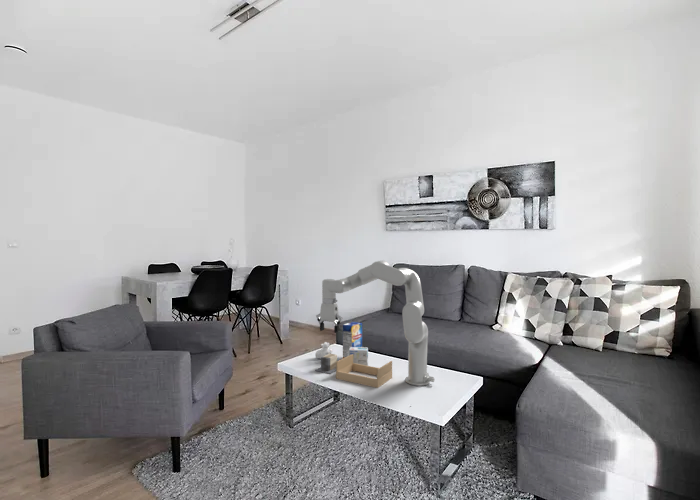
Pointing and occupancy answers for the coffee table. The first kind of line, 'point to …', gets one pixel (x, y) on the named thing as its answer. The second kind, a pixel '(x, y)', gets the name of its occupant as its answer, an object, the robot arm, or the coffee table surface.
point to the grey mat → (326, 371)
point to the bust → (323, 350)
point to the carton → (347, 366)
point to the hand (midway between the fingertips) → (329, 331)
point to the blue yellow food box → (351, 336)
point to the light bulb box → (359, 355)
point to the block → (328, 362)
